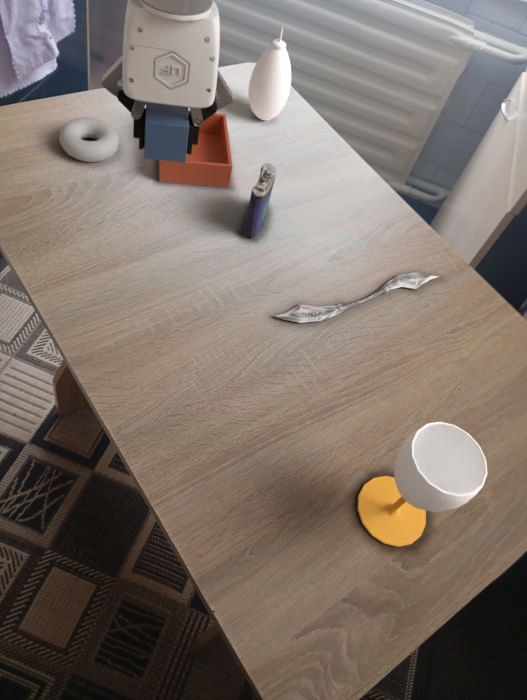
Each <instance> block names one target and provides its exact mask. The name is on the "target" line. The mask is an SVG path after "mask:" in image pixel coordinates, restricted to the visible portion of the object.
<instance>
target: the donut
mask: <svg viewBox="0 0 527 700" xmlns="http://www.w3.org/2000/svg"><path fill="white" fill-rule="evenodd" d="M85 139H94V140H85ZM58 140H59V141H58V142H59V144H60V146H61V149H62V150H63V151H64V152H65V153H66V154H67V155H68V156H70V157H71V158H74V159H76V160H77V161H78V160H79V161H82V162H87V163H96V162H103V161H105V160H108V159H110V158H111V157H113V156H114V155H115V154H116V153H117V152H118V151H117V150H118V149H119V147H120V137H119V135H118V133H117V132H116V130H115V128H114V127H113V126H112V125H110V123H108V122H105V121H103V120H101V119H98V118H94V117H77V118H74V119H71V120H70V121H68V122H67V123H65V124H64V125H63V126H62V127H61V129H60V131H59V139H58Z"/></svg>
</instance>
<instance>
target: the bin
mask: <svg viewBox="0 0 527 700" xmlns="http://www.w3.org/2000/svg"><path fill="white" fill-rule="evenodd" d="M189 111H190V109H189ZM229 137H230V136H229V129H228V121H227V115H226V114H225V113H217V112H216V113H215V114H213V115H212V116H210V117H209V118H208V119H206V120H205V121H203V124H202V126H200V128H199V137H198V145H193V144H192V153H191V155H190V154H187V153H186V162H185V163H183V162H173V161H164V160H158V182H159V183H172V184H182V185H184V184H185V185H196V186H207V187H219V188H221V187H222V188H229V187H230V184H231V183H230V182H231V177H232V171H233V160H232V151H231V145H230V138H229Z"/></svg>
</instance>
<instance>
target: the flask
mask: <svg viewBox="0 0 527 700" xmlns="http://www.w3.org/2000/svg"><path fill="white" fill-rule="evenodd" d="M276 172H277V169H276V166H275V165H273V164H272V163H263V164H262V166H261V168H260V174H259V178H258V180H257V182H256V184H254V186H253V187H252V188H251V192H250V198H249V203H248V207H247V212H246V218H245V223H244V226H243V232H242V234H243V237H244V238H246V239H249V240H254V239H256V238H257V237H258V236H259V234H260V233H261V232H262V230H263V228H264V225H265V219H266V217H267V212H268V208H269V205H270V200H271V195H272V192H273V189H274V184H275V181H276V175H277V174H276Z"/></svg>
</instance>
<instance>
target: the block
mask: <svg viewBox="0 0 527 700" xmlns="http://www.w3.org/2000/svg"><path fill="white" fill-rule="evenodd" d="M145 108H146V117H145V148H143V150H144V153H143V159H146V160H156V161H159V160H164V161H173V162H183V163H185V162H186V153H187V143H188V134H189V110H190V108H189V107H180V106H172V105H164V104H157V103H149V102H147V103H146V105H145Z"/></svg>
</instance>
